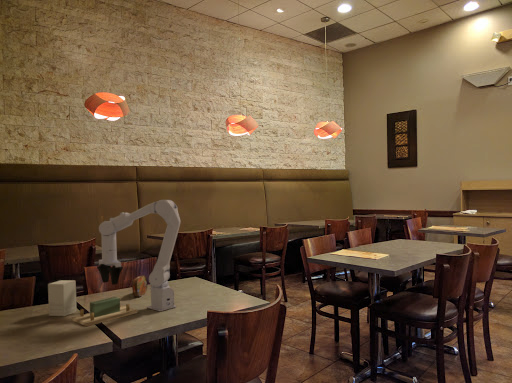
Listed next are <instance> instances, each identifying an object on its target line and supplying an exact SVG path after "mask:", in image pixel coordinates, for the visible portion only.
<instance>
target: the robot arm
mask: <svg viewBox="0 0 512 383" xmlns="http://www.w3.org/2000/svg"><path fill="white" fill-rule="evenodd" d="M178 210H179V209H178V206H177V204H176V203H175V201H173V200H171V199H160V200H158V201H154V202H152V203H149V204H146V205H144V206H143V207H141V208H139V209H136V210H135V211H132V212H131V213H130V212H120V213H119V215H117V216H115V217H110V218H109V220H105V221H104V220H103V221H102V222H101V223H100V224H99V226H98V232H99V234H101V235H100V236H101V259H98V265H97V266H96V268H97V270H98V272H99V273H100V277H101V281H102V283H103V284H105V283H109V280H110V282H111V285H112V286H116V285H118V284H119V280H120V277H121V276H120V275H121V273H122V271H123V269H124V267H123V266H122V262H121V261H120V260H118V255H117V254H118V253H117V252H118V249H117V247H118V246H117V233H118V232H119V231H122V230H124V229H126V228H128V227H130V226H133V223H134V221H136V220H138V219H140V218H143V217H145V216H147V215H150V214H157V215H159V216H160V217H161V218H162V219H163V220H164V221H165V223H166V229H165V233H164V234H163V235H164V236H163V240H162V243H161V246H160V249H159V250H160V251H159V253H158V256H157V260H156V263H155V264H154V266H153V269H152V271H151V272H150V274H149V276H148V282H149V284H150V302H151V303H150V305H148V306H146V308H147V309H151V310H154V311H157V312H162V311H163V312H164V311H167V310H170V309H173V308H176V307H177V305H175V291H174V289H173V288H172V287H170V283H169V281H168V280H169V279H170V278H171V277H170V276H171V274H170V268H171V266H170V265H171V264H170V262H171V259H172V255H173V252H174V250H175V249H174V248H175V244H176V241H177V238H178V234H179V229H180V226H181V221H182V220H181V218H180V214H179V211H178Z"/></svg>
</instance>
